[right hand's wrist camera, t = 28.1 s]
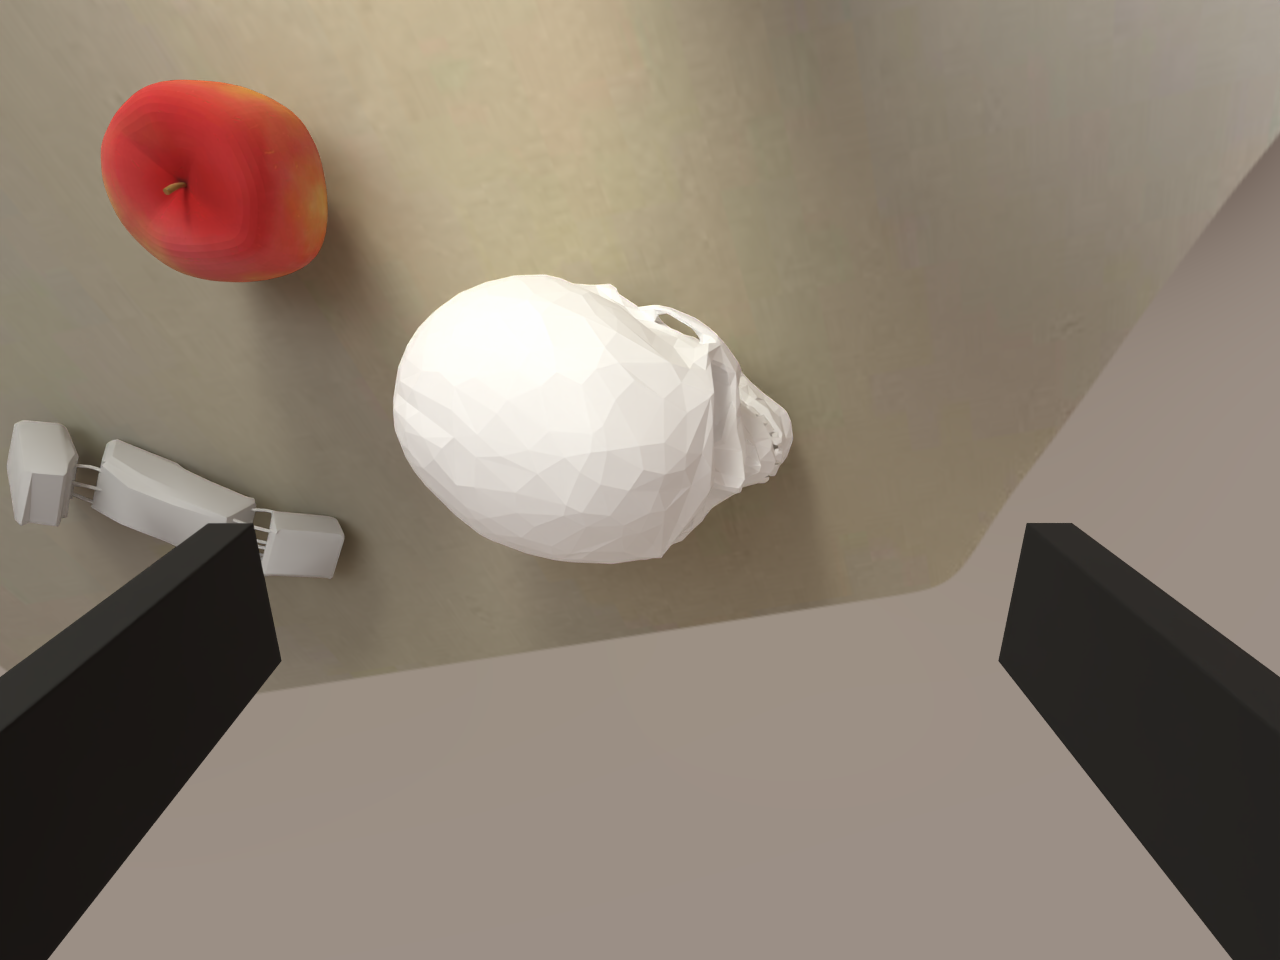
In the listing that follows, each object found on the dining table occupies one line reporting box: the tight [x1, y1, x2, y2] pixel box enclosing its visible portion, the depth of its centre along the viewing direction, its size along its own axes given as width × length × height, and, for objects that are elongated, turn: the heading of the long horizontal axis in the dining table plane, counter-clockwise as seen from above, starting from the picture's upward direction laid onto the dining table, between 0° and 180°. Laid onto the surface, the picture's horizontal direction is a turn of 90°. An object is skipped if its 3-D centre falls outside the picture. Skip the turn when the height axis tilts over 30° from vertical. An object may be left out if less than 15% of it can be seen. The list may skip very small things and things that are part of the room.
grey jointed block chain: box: [7, 420, 345, 579], centre depth 45 cm, size 20×4×7 cm, turn 67°
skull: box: [393, 274, 793, 564], centre depth 38 cm, size 13×22×16 cm, turn 79°
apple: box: [101, 80, 327, 282], centre depth 36 cm, size 10×10×10 cm
